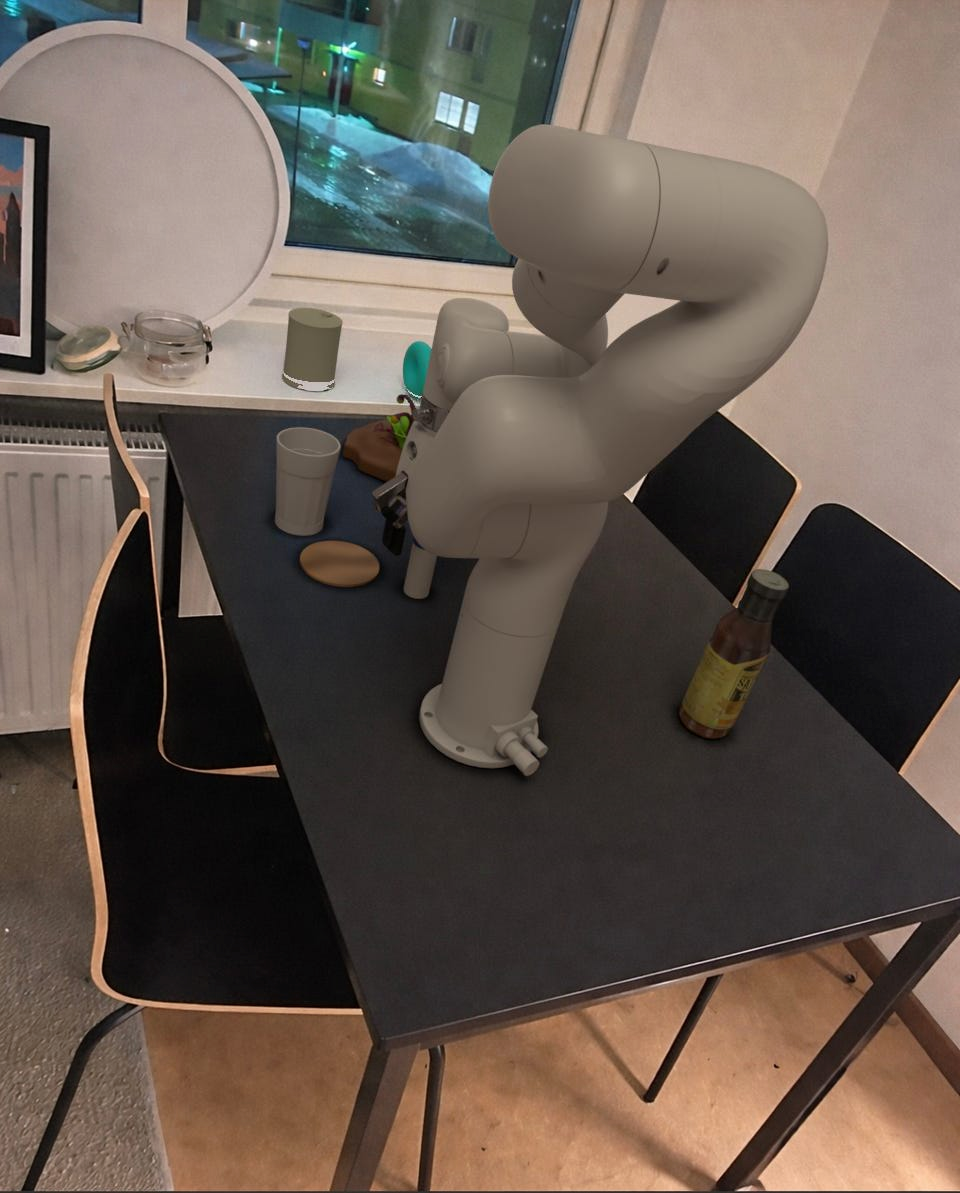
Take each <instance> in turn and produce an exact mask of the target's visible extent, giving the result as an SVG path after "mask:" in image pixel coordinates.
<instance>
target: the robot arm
mask: <svg viewBox="0 0 960 1193" xmlns="http://www.w3.org/2000/svg"><path fill="white" fill-rule="evenodd" d="M493 171H494V172H493V175H492V177H491V181H490V186H489V189H488V190H489V191H488V197H487V198H488V200H487V211H488V212H487V215H488V221H489V225H490V226H489V227H490V229H491V231H492V233H493V236H494V238H495V239H496V241H497V242H498V244H499V245H500V246H501V247H502V248H503V249H504V250H505V251H506V252H507V253H508V254H510V255H512V256H513V257H515V258H517V261H516V262H515V266H514V268H513V272H512V276H511V289H512V294H513V298H514V301H515V303H516V306H517V308H518V309H519V311H520V312H521V314H522V316H523V317H524V318H525V319H526V321H527V322H528V323H530V324H531V325H532V327H534V328H535V329H536V330H537V331H538V332H540V333H541V334H537V333H529V332H519V331H510V324H509V319H508V316H507V315H506V314H505V312H504V311H503V310H502V309H501V308H499V307H498V306H496V305H494V304H491V303H489V302H487V301H484V300H481V299H475V298H472V297H471V298H470V297H454V298H451V299H449V300H446V302H444V303H443V304H442V306H441V307H440V309H439V312H438V314H437V315H438V316H437V319H436V324H435V330H434V334H433V339H432V343H431V344H432V345H431V354H430V359H429V365H428V370H427V375H426V380H425V385H424V390H423V394H422V398H421V399H420V404H419V407H418V408H416V409H414V410H413V413H412V416H413V419H414V420H415V421H414V422H413V424H412V426H411V428H410V431H409V433H408V436H407V438H406V441H405V444H404V447H403V450H402V453H401V456H400V460H399V464H398V467H397V472H396V476H395V477H394V478H393V479H391V480H390V481H388V482H385V483H383V484H381V485H380V486H378V487H377V488H375V489H374V490H373V491H372V493H371V497H372V500H373V502H374V505H375V510H376V511H378V512H379V513H380V514H381V515H382V517H383V518H385V522H384V527H383V533H382V538H381V542H382V545H383V546H384V547H385V548H386V549H387V550H388V551H389V552H390V553H391V554H392V555H393V556H394V557H399V556H401V554H402V553H403V546H404V544H405V543H404V542H405V537H406V533H407V527H406V526H405V524H406V522H407V521H408V525H409V528H410V532H411V533H412V535H413V536H414V537H415V539H416V540H417V542H418V543H419V544H420V546H422V547H423V548H424V549H425V550H426V551H428V552H430V553H432V554H434V555H437V557H441V558H449V559H478V560H477V562H476V564H475V566H474V567H473V569H472V570H471V573H470V574H469V576H468V580H467V583H466V586H465V590H464V594H463V599H462V603H461V605H460V606H461V607H460V611H459V614H458V617H457V618H458V619H457V623H456V627H455V630H454V634H453V638H452V642H451V647H450V650H449V654H448V659H447V663H446V667H445V671H444V675H443V679H442V683H440V684H437V685H436V686H435V687H433V688H431V690H429V691H428V692H427V693H426V694H425V696H424V698H423V699H422V701H421V705H420V708H419V715H418V719H419V725H420V728H421V731H422V732H423V735H424V737H426V739H427V740H428V741H429V743H430V744H431V745H432V746H433V747H434V748H436V750H438V751H439V752H441V753H442V754H443V755H445V756H446V757H448V758H450V759H452V760H454V761H455V762H458V763H460V764H461V763H462V764H464V765H466V766H470V767H477V768H481V769H482V768H483V769H499V768H506V767H511V766H513V765H514V766H515V767H516V768H517V769H518V770H519V771H520V772H521V773H522V774H523V775H524V776H526V777H528V776H531V775H533V774H534V773H535V772H536V771H537V770H538V768H539V767H540V761H539V760H538V759H537V758H540V759H541V758H542V757H544V756H545V755H547V753H548V750H549V747H548V746H547V745H545V743H544V742H543V741H541V739H539V738H538V737H539V732H540V730H539V723H538V717H539V715H538V714H537V713H536V712H535V711H534V710H533V705H534V702H535V699H536V696H537V692H538V690H539V686H540V685H541V684H540V683H541V680H542V678H543V674H544V671H545V668H546V665H547V663H548V659H549V656H550V653H551V650H552V647H553V644H554V641H555V638H556V634H557V632H558V628H559V626H560V623H561V620H562V617H563V614H564V611H565V608H566V605H567V602H568V600H569V597H570V594H571V592H572V589H573V586H574V585H575V581H576V579H577V577H578V575H579V573H580V571H581V569H582V567H583V566H584V564H585V562H586V560H587V559H588V558H589V555H590V554H591V552H592V550H593V549H594V547H595V545H596V543H597V542H598V539H599V538H600V537H601V534H602V531H603V529H604V526H605V523H606V520H607V517H608V511H609V502H610V501H611V502H612V501H613V500H615V499H618V498H620V497H621V496H623V495H624V494H626V493H627V492H629V491H630V490H631V489H632V488H634V486H635V485H637V484H638V483H639V482H640V481H641V480H642V479H643V478H645V477H646V476H647V475H648V474H649V473H650V472H651V471H652V470H653V469H654V468H656V467H657V465H659V464H660V463H661V462H662V461H663V460H664V459H665V458H667V457H668V455H670V454H671V453H672V452H674V450H675V449H677V447H679V446H680V445H681V443H683V442H684V441H685V440H686V439H687V438H688V437H689V436H690V435H691V433H693V432H694V431H695V430H696V429H697V428H698V427H700V426H701V425H702V424H703V423H704V422H705V421H706V420H707V419H709V418H710V417H711V416H713V415H714V414H715V413H717V412H718V411H719V410H720V409H722V408H723V407H724V406H726V405H727V404H729V403H730V402H731V401H732V400H734V399H735V398H737V397H739V395H741V394H742V393H743V392H745V391H746V390H747V389H748V388H749V387H751V386H753V385H754V384H755V383H756V382H757V381H758V380H760V378H762V377H763V376H764V375H765V374H766V373H767V372H768V371H769V370H770V369H771V368H772V367H773V366H774V365H775V364H776V363H777V362H778V361H779V360H780V359H781V358H782V357H783V355H784V354H785V353H786V352H787V351H788V349H789V348H790V347H791V346H792V344H793V343H794V341H796V338H797V337H798V336H799V334H800V332H801V331H802V329H803V327H804V326H805V324H806V322H807V320H808V318H809V316H810V314H811V312H812V311H813V308H814V305H815V303H816V301H817V298H818V295H819V292H820V290H821V286H822V282H823V279H824V275H825V270H826V266H827V260H828V254H829V253H828V252H829V231H828V225H827V222H826V221H827V220H826V218H825V214H824V212H823V210H822V208H821V206H820V205H819V203H818V202H817V199H816V198H815V197H813V195H812V194H811V193H809V191H808V190H807V189H806V188H804V187H803V186H801V185H800V184H798V183H797V182H795V181H794V180H792V179H791V178H789V177H786V176H784V175H782V174H780V173H777V172H775V171H773V170H770V169H768V168H764V167H761V166H758V165H754V164H750V163H747V162H742V161H737V160H733V159H728V158H723V157H718V156H712V155H707V154H702V153H697V152H691V151H686V150H682V149H677V148H671V147H667V146H666V147H665V146H661V145H657V144H653V143H648V142H643V141H637V140H633V139H627V138H622V137H618V136H617V137H616V136H611V135H606V134H598V133H593V132H589V131H583V130H578V129H574V128H569V127H563V126H559V125H555V124H554V125H553V124H538V125H537V124H536V125H533V126H530V127H528V128H527V129H525V130H524V131H522V132H521V133H519V134H518V135H517V136H516V137H515V138H514V139H513V140H511V143H509V144H508V146H506V148H505V150H504V151H503V152H502V154H501V156H500V158H499V160H498V161H497V164H496V166H495V168H494V170H493ZM625 294H627V295H634V296H642V297H649V298H657V299H664V300H671V301H677V302H676V303H674V304H672V305H670V306H669V307H667V308H665V309H663V310H661V311H659V312H657V313H655V314H653V315H651V316H649V317H647V318H644V319H643V320H641V321H640V322H637V323H636V324H634V325H632V326H631V327H629V328H628V329H626V330H625V331H624V332H622V333H621V334H620V335H619V336H618V337H616V338H615V339H614V340H613V341H612V342H611V343H610V344H609V345H608V341H609V324H608V323H609V322H608V319H607V313H609V311H610V310H611V309H613V307H614V306H615V305H616V304H617V303H618V301H620V300H621V298H622V297H623V296H624V295H625ZM391 499H392V500H391ZM402 505H403V506H404V508H403V509H402V510H401V511H400V512H399V513H396V512H397V511H398V510H399V509H400V508H401V506H402ZM413 536H412V537H413ZM533 754H534V755H535V756H536V757H537V758H536V757H535V756H534V755H533Z"/></svg>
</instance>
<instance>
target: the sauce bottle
mask: <svg viewBox="0 0 960 1193" xmlns="http://www.w3.org/2000/svg"><path fill="white" fill-rule="evenodd" d="M789 586H790V585H789V583H788V581H787V580H786V578H784V577H782V575H780V574H779V573H776V572H774V571H772V570H769V569H763V568H756V569H753V570H752V571H751V573H750V575H749V577H748V579H747V583H746V588H745V590H744V592H743V594H742V596H741V598H740V600H739V601H738V603H737V607H735V608H734V609H732V610H730V611H729V612H727V613H726V614H725V615H724V616H722V617H721V618H720V619H719V621H718V622H717V624H716V626H715V629H714V631H713V634H712V636H711V638H709V640H708V641H707V644H706V647H705V649H704V651H703V653H702V655H701V658H700V660H699V662H698V664H697V666H696V669H695V671H694V674H693V676H692V678H691V680H690V683H689V684H688V687H687V689H686V691H685V694H684V695H683V698H682V703H681V705H680V707H679V711H678V713H679V718H680V721H681V723H682V724H683V726H685V728H686V729H687V730H689V731H691V732H692V733H694V734H696V736H699V737H702V738H705V739H711V740H712V739H714V740H715V739H716V740H717V739H721V738H723V737H726V736H727V734H728V733H729V732H730V731H731V729H732V727H733V726H734V725H735V723H736V722H737V719H738V717H739V716H740V713H741V711H742V709H743V707H744V705H745V703H746V701H747V699H748V697H749V695H750V693H751V691H752V689H753V687H754V685H755V683H756V681H757V678H758V677H759V674H760V672H761V671H762V669H763V667H764V664H765V663H766V660H767V658H768V656H769V654H770V652H771V643H772V627H773V619H774V618H775V615H776V613H777V609H778V607H779V605H780V603H781V601H782V600H783V599H785V597H786V595H787V592H788V590H789V588H790V587H789Z"/></svg>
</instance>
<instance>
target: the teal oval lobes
mask: <svg viewBox="0 0 960 1193" xmlns="http://www.w3.org/2000/svg"><path fill="white" fill-rule="evenodd" d="M431 349H432V347H431V346H430V345H429V344H428V343H426V342H425V341H421V340H416V341H414V342H412V343H411V344H410V345H408V347H407V349H406V351H405V354H404V357H403V363H402V379H403V383H404V387H405V386H406V387H405V390H406V392H407V393H408V395H410V396H411V397H412V398H414V399H419V400H421V398H418V397H415V396H413V395H412V394H410V393H409V392H408V390H409V391H410V392H412V393H413V394H415V395H418V396H422V394H423V390H424V385H425V380H426V375H427V370H428V365H429V359H430V354H431ZM406 388H407V389H408V390H407V389H406Z"/></svg>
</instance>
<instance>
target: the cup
mask: <svg viewBox="0 0 960 1193" xmlns="http://www.w3.org/2000/svg"><path fill="white" fill-rule="evenodd" d="M341 446H342V445H341V443H340V441H339V439H337V437H336V436H334V435H332V434H331V433H329V432H326V431H324V430H321V429H317V428H312V427H302V426H296V427H289V428H285V429H283V430H281V431H279V432H278V434H277V435H276V466H275V467H276V468H275V470H276V472H275V474H276V475H275V476H276V480H275V515H274V523H275V525H276V527H277V528H278V529H279V530H281V531H283V532H285V533H287V534H291V535H295V536H303V537H305V536H312V535H316V534H318V533H319V532H321V531H322V530H323V528H324V523H325V522H324V521H325V515H326V512H327V508H328V502H329V499H330V494H331V490H332V485H333V481H334V477H335V472H336V468H337V464H338V459H339V455H340V451H341Z"/></svg>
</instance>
